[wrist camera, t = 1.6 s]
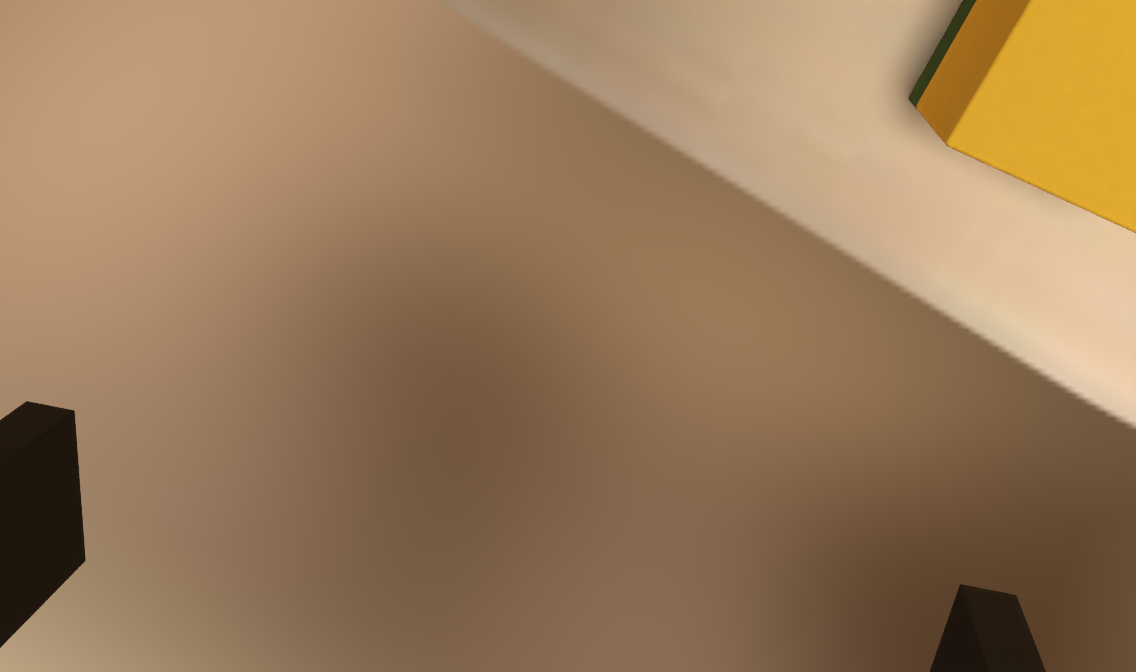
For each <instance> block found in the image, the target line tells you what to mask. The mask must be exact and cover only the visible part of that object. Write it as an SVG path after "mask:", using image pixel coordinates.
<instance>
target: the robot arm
mask: <svg viewBox="0 0 1136 672" xmlns="http://www.w3.org/2000/svg"><path fill="white" fill-rule="evenodd" d="M74 412H75V411H74V410H68V409H64V408H59V407H54V406H49V405H43V404H38V403H33V402H28V401H26V402H25V403H24V404H22V405H21V406H20V407H18V408H17V409H15V410H14V411H12V412H11V413H10V414H9V415H7V416H5V417H4V418H3V419H1V420H0V648H1V646H2V645H3V644H4V643H5V642H6V641H7V640H8V639H9V638H10V637H11V636H12V635H13V634H14V633H15V632H16V631H17V630H18V629H19V628H20V627H21V626H22V625H23V624H24V623H25V622H26V621H27V620H28V619H29V618H30V617H31V616H32V615H33V614H34V613H35V612H36V611H37V610H38V609H39V607H41V606H42V605H43V604H44V603H45V601H46V600H47V599H48V598H49V597H50V596H51V595H52V594H53V593H54V592H55V591H56V590H57V589H58V588H59V587H60V586H61V585H62V584H63V583H64V582H65V581H66V580H67V579H68V578H69V577H70V576H71V575H72V574H73V573H74V572H75V571H76V570H77V569H78V567H80V566H81V565H82V564H83V563H84V561H85V548H84V533H83V520H82V506H81V493H80V479H79V465H78V452H77V439H76V425H75V413H74ZM930 672H1046V671H1045V668H1044V665H1043V663H1042V660H1041V658H1040V655H1039V653H1038V650H1037V647H1036V645H1035V642H1034V640H1033V637H1032V635H1031V632H1030V629H1029V627H1028V624H1027V622H1026V619H1025V616H1024V614H1023V611H1022V609H1021V606H1020V604H1019V601H1018V598H1017V596H1016V595H1013V594H1008V593H1003V592H998V591H992V590H987V589H982V588H977V587H972V586H967V585H962V584H960V586H959V589H958V592H957V595H956V598H955V600H954V603H953V606H952V609H951V612H950V616H949V618H948V621H947V624H946V626H945V629H944V632H943V635H942V638H941V641H940V644H939V647H938V650H937V652H936V655H935V658H934V661H933V664H932V667H931V670H930Z"/></svg>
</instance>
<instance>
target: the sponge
mask: <svg viewBox="0 0 1136 672" xmlns="http://www.w3.org/2000/svg"><path fill="white" fill-rule="evenodd" d="M909 100H910V102H911V103H912V104H913V105H914V106H915V108H916V109H917V110H918V111H919V112H920V113H921V115H922V116H923V117H924V118H925V119H926V121H927V122H928V123H929V124H930V126H931V127H932V128H933V129H934V130H935V132H936V133H937V134H938V135H939V137H940V138H941V139H942V140H943V141H944V143H945V144H946V145H947V146H948V147H951V148H953V149H955V150H957V151H959V152H961V153H964V154H966V155H968V156H970V157H972V158H974V159H977V160H979V161H981V162H983V163H985V164H987V165H990V166H992V167H994V168H996V169H998V170H1000V171H1003V172H1005V173H1007V174H1009V175H1011V176H1013V177H1015V178H1018V179H1020V180H1022V181H1024V182H1026V183H1028V184H1031V185H1033V186H1035V187H1037V188H1039V189H1041V190H1044V191H1046V192H1048V193H1050V194H1052V195H1054V196H1057V197H1059V198H1061V199H1063V200H1065V201H1067V202H1070V203H1072V204H1074V205H1076V206H1078V207H1080V208H1083V209H1085V210H1087V211H1089V212H1091V213H1093V214H1096V215H1098V216H1100V217H1102V218H1104V219H1106V220H1109V221H1111V222H1113V223H1115V224H1117V225H1119V226H1122V227H1124V228H1126V229H1128V230H1130V231H1132V232H1135V233H1136V0H964V1H963V3H962V5H961V6H960V8H959V10H958V12H957V13H956V15H955V17H954V19H953V20H952V22H951V24H950V26H949V28H948V29H947V31H946V33H945V35H944V36H943V38H942V40H941V42H940V44H939V45H938V47H937V49H936V51H935V52H934V54H933V56H932V58H931V59H930V61H929V63H928V65H927V67H926V68H925V70H924V72H923V74H922V75H921V77H920V79H919V81H918V82H917V84H916V86H915V88H914V90H913V91H912V93H911V95H910V97H909Z"/></svg>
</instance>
